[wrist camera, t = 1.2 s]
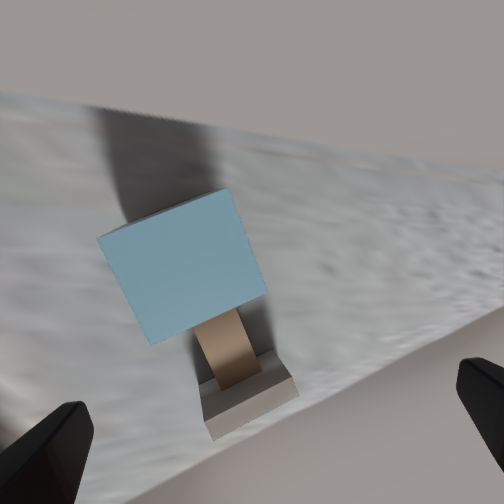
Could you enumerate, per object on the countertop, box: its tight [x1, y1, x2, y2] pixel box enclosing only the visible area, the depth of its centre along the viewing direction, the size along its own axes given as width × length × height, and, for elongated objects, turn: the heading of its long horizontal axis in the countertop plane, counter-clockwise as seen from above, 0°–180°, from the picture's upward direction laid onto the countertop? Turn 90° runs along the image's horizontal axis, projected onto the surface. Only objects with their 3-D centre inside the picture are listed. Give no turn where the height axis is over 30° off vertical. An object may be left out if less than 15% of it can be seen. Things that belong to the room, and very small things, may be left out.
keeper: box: [97, 188, 268, 346], centre depth 17 cm, size 5×6×7 cm
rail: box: [143, 199, 299, 441], centre depth 20 cm, size 14×6×4 cm, turn 21°
